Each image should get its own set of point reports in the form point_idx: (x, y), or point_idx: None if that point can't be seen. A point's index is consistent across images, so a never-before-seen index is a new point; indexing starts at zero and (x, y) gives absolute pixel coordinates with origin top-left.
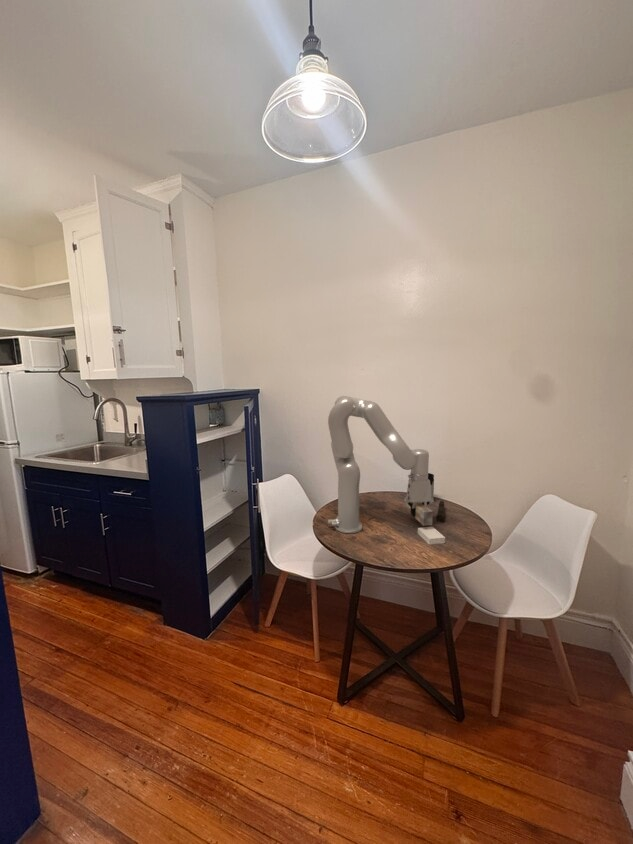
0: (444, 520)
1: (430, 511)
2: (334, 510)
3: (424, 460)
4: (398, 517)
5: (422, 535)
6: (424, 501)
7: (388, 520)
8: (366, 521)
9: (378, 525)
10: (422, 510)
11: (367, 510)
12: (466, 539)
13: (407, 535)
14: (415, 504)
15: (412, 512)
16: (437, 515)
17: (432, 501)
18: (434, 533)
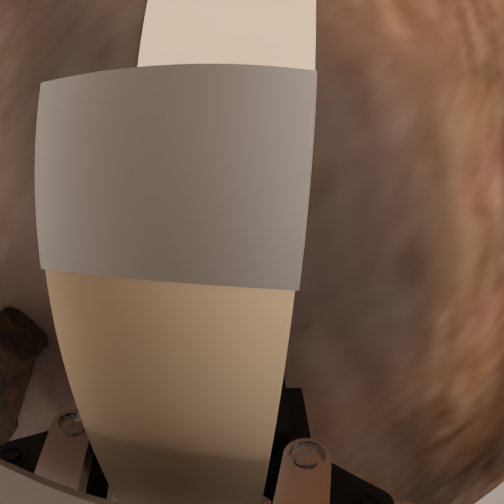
0: (2, 310)
1: (88, 80)
2: (494, 478)
3: None
4: None
5: None
6: (62, 500)
7: (382, 421)
8: (487, 408)
9: (476, 364)
10: (283, 201)
11: (395, 500)
12: (8, 46)
13: (405, 175)
14: (242, 501)
15: (297, 402)
16: (20, 356)
17: None
18: (199, 39)
